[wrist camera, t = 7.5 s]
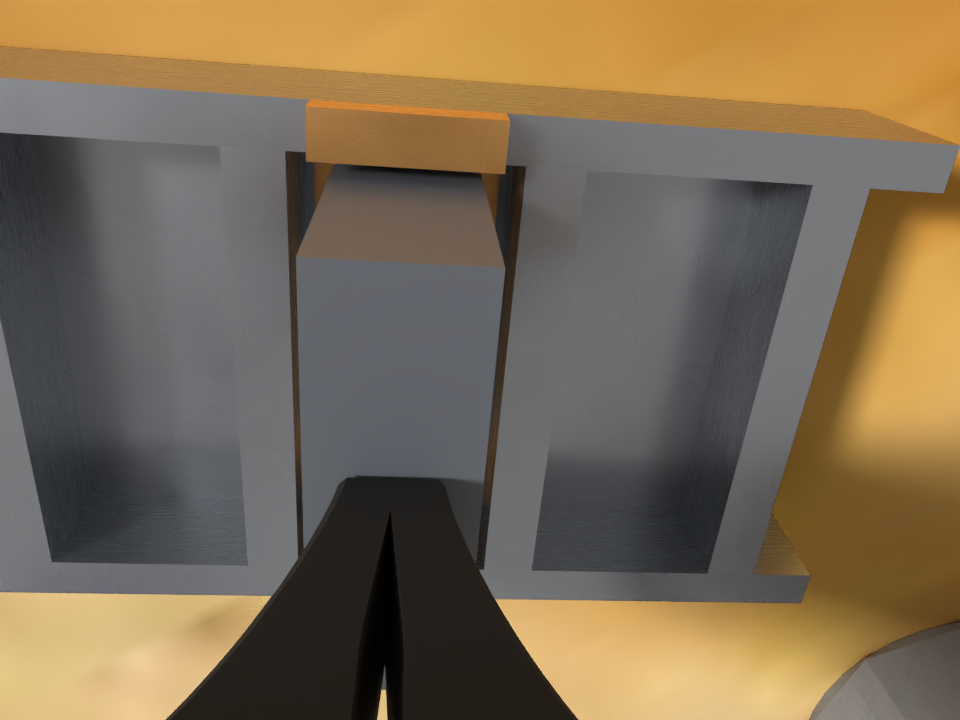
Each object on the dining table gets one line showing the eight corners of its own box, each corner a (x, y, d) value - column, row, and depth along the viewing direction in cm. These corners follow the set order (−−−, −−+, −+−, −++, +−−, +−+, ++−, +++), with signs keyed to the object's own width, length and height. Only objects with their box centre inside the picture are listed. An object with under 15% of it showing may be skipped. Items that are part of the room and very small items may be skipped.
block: (451, 468, 18) (463, 689, 12) (342, 464, 18) (307, 689, 12) (475, 152, 15) (505, 268, 9) (343, 143, 14) (296, 257, 9)
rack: (748, 512, 20) (812, 624, 17) (11, 494, 19) (-79, 613, 15) (864, 110, 16) (983, 153, 13) (-93, 39, 14) (-253, 67, 11)
